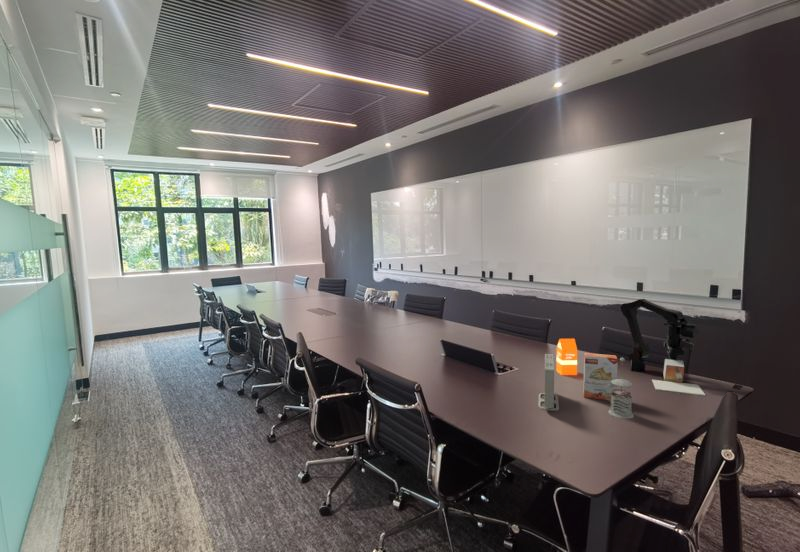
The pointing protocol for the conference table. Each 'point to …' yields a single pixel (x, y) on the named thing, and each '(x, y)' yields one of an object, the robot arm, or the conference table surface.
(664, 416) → the conference table surface
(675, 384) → the grey mat
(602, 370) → the cracker box
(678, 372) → the small box
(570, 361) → the orange juice
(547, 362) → the network device
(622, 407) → the french press
